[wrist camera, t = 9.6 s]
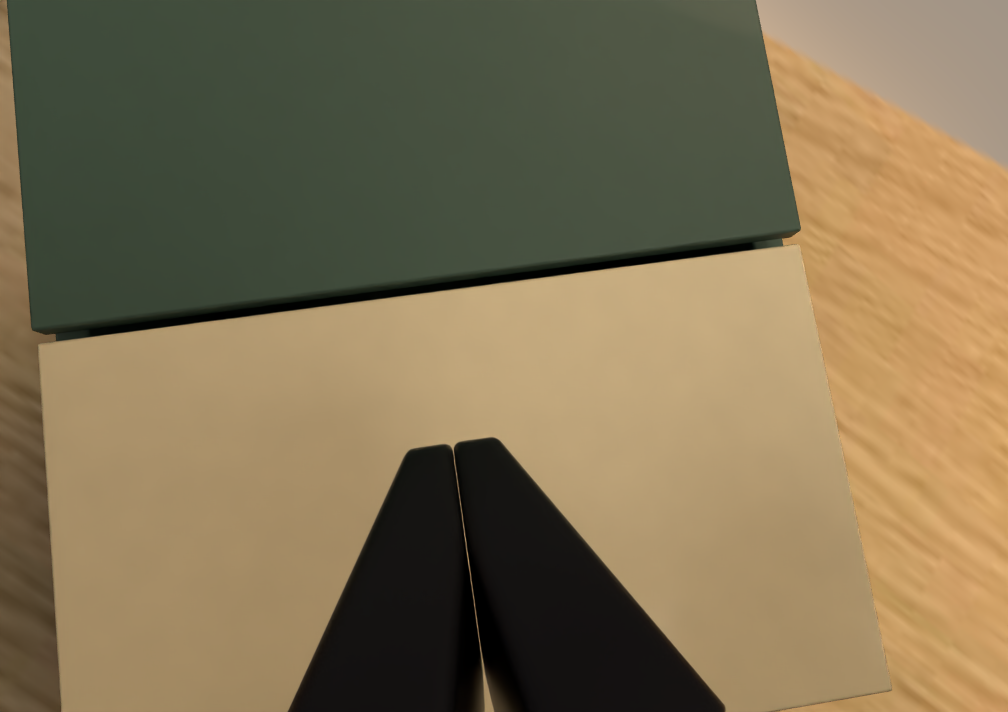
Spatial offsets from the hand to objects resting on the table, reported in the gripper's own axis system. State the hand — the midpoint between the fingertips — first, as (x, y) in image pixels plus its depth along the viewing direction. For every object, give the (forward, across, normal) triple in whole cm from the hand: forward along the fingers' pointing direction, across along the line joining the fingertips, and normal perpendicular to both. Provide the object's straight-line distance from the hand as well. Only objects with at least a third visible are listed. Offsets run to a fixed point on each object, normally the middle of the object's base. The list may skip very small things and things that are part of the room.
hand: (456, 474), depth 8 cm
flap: (+2, 0, +3) cm, 4 cm away
